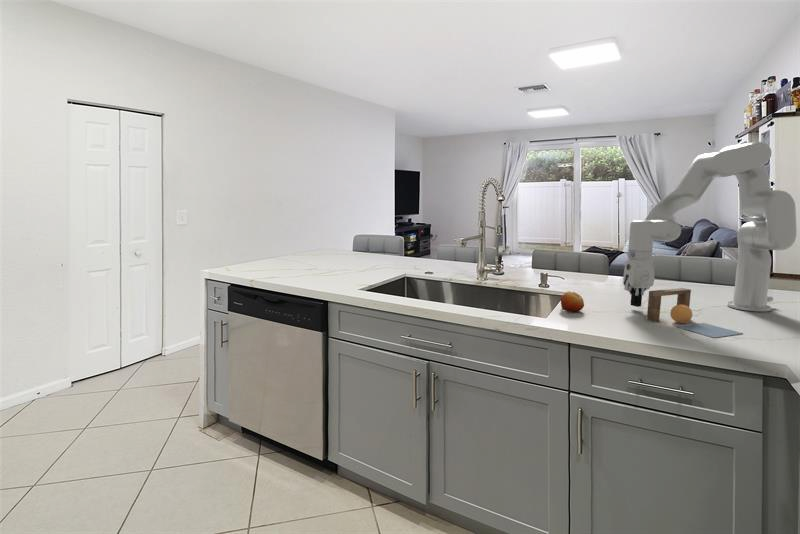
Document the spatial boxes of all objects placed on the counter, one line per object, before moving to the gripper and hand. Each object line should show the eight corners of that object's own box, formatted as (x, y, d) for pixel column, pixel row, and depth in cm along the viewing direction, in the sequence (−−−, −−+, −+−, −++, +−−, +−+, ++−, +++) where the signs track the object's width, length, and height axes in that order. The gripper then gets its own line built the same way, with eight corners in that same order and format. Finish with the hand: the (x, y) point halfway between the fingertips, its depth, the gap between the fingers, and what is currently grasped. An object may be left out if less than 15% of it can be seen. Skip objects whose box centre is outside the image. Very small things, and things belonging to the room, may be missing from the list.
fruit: (559, 303, 165) (572, 286, 162) (577, 316, 162) (590, 299, 158) (551, 307, 159) (564, 289, 156) (570, 321, 156) (583, 304, 152)
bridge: (646, 319, 148) (649, 291, 146) (680, 315, 153) (682, 287, 151) (654, 322, 145) (657, 292, 143) (688, 317, 150) (691, 289, 148)
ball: (676, 314, 148) (682, 299, 146) (693, 324, 144) (699, 308, 141) (663, 318, 146) (669, 303, 143) (680, 328, 141) (686, 312, 139)
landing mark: (703, 323, 143) (703, 322, 143) (743, 333, 132) (743, 333, 132) (676, 327, 139) (676, 326, 139) (714, 338, 128) (714, 337, 128)
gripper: (632, 257, 152) (628, 310, 155) (664, 255, 157) (660, 306, 160) (614, 255, 159) (611, 305, 162) (646, 253, 164) (642, 302, 167)
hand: (635, 305), depth 161 cm, fingers closed
